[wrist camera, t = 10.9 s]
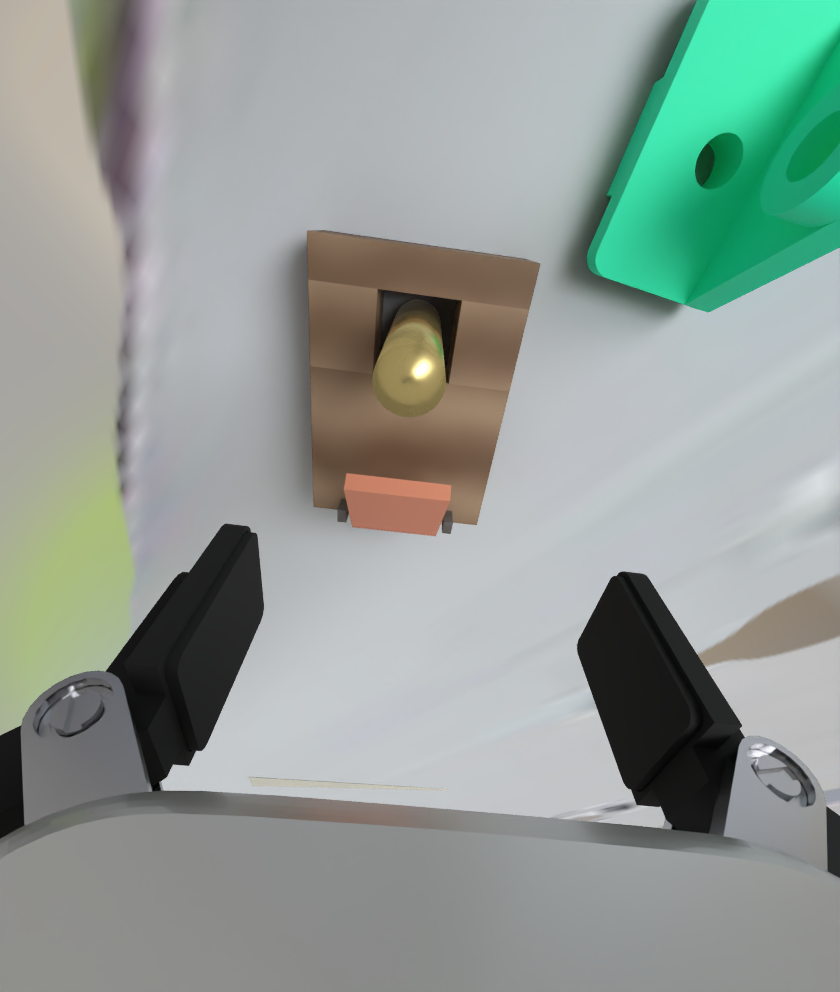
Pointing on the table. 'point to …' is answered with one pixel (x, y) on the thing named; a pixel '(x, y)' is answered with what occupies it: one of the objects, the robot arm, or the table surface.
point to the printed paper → (325, 784)
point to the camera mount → (731, 157)
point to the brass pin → (411, 362)
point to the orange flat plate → (396, 504)
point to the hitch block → (356, 348)
